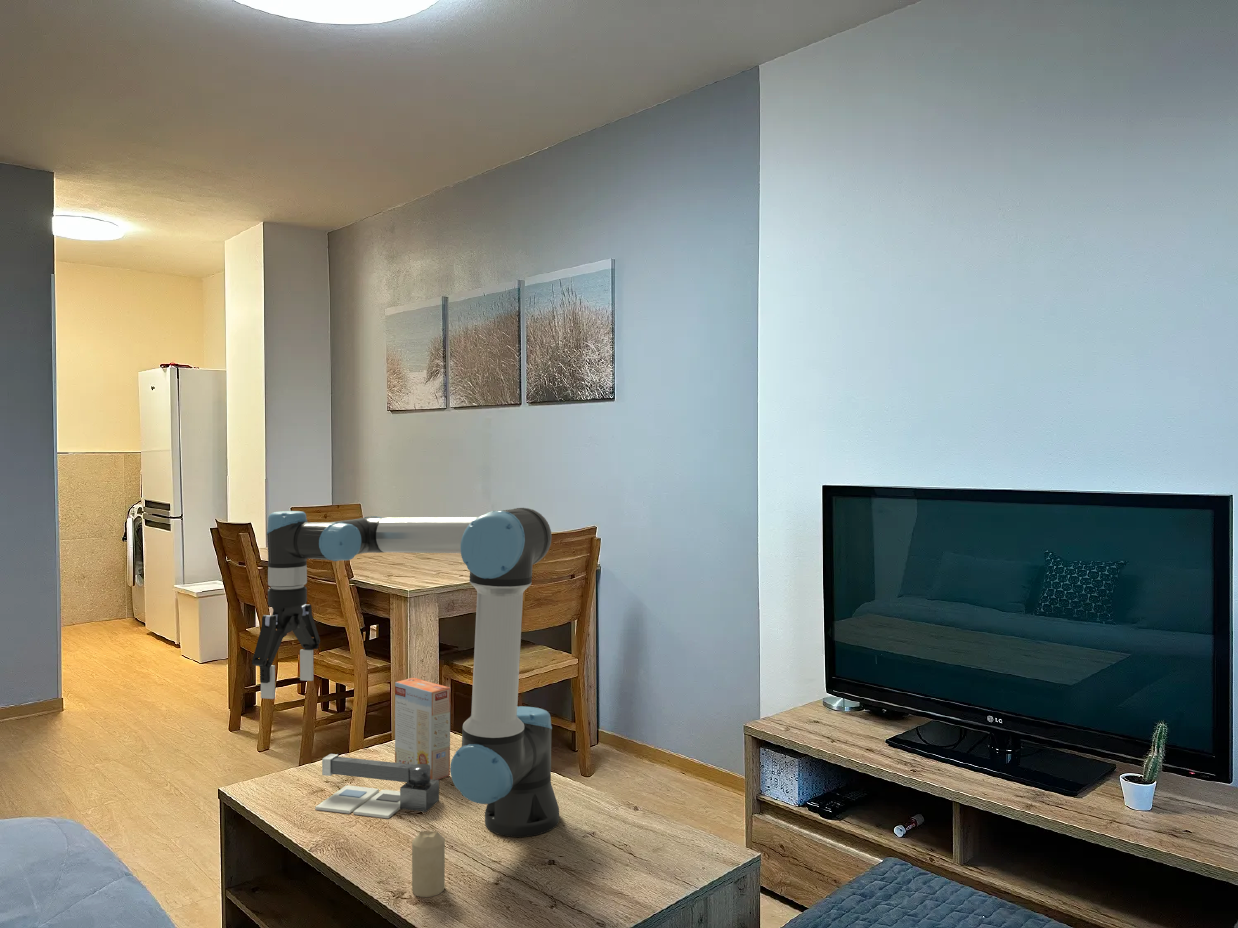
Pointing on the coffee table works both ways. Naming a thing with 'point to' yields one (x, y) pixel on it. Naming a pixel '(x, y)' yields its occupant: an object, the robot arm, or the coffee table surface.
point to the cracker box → (423, 725)
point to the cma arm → (376, 769)
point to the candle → (428, 864)
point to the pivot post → (419, 796)
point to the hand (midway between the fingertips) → (288, 688)
